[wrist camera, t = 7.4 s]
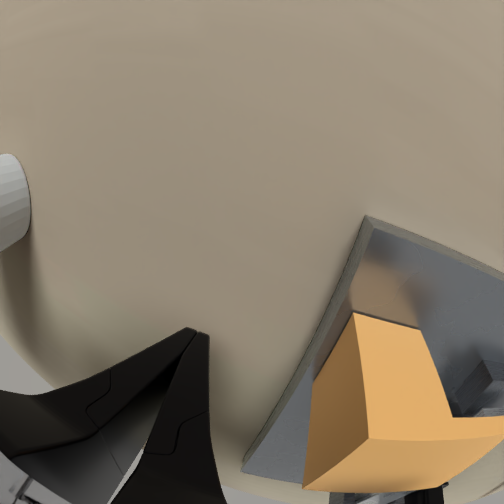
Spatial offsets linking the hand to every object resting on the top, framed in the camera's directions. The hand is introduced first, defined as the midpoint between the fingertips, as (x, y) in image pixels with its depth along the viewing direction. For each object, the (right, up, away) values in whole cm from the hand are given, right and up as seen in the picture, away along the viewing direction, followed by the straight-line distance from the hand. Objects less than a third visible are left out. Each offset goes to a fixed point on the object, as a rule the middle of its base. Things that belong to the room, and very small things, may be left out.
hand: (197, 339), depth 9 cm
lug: (+8, -2, +1) cm, 8 cm away
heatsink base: (+12, -7, +4) cm, 15 cm away
